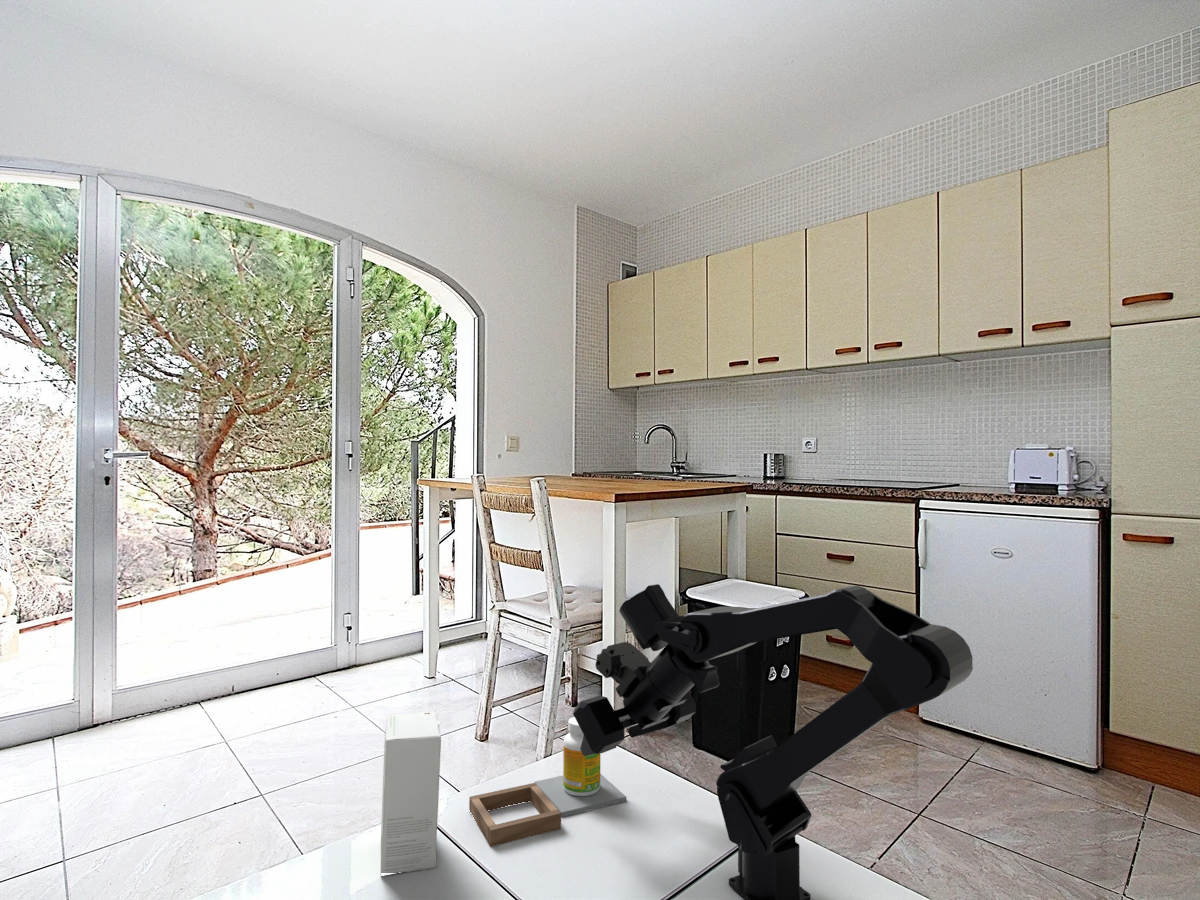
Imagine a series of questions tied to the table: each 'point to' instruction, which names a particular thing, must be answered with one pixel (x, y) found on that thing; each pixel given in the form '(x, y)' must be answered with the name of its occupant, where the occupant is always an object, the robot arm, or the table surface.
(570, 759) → the supplement bottle
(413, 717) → the skincare box
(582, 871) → the table surface
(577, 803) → the slate pad
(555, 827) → the walnut collar
